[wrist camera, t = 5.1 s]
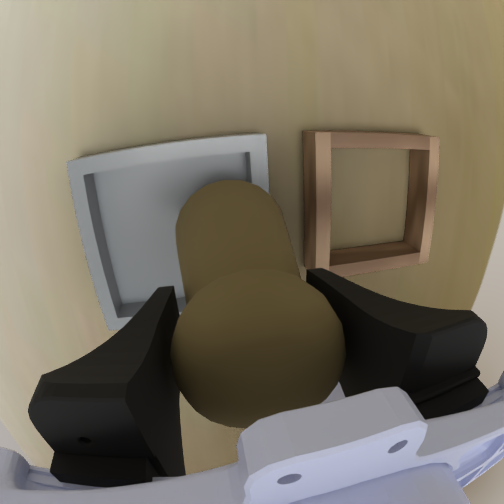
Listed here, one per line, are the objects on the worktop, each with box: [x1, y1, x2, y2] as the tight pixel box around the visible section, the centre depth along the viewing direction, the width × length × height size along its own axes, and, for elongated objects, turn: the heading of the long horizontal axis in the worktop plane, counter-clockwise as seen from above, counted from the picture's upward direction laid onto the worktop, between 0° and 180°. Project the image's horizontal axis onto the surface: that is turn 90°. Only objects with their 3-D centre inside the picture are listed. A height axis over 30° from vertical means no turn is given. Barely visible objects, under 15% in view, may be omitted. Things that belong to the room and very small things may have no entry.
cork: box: [170, 180, 346, 428], centre depth 13 cm, size 6×6×11 cm
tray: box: [66, 133, 269, 330], centre depth 20 cm, size 12×12×2 cm
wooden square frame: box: [302, 130, 440, 277], centre depth 22 cm, size 10×10×2 cm
